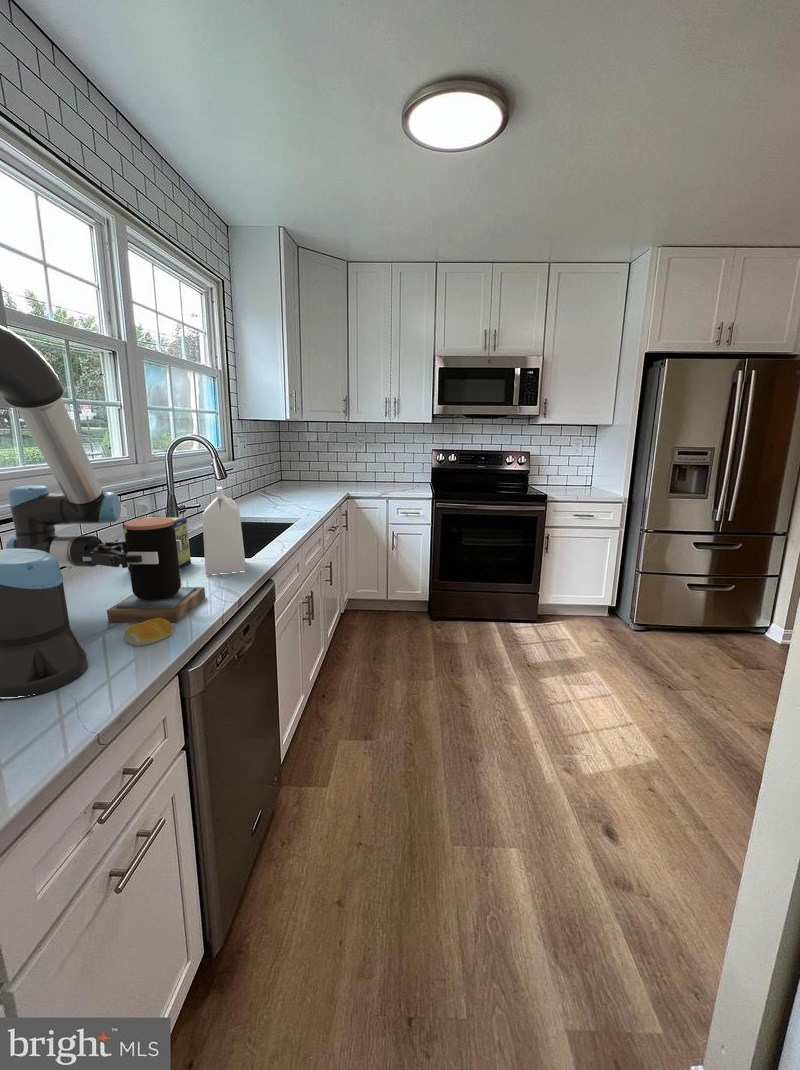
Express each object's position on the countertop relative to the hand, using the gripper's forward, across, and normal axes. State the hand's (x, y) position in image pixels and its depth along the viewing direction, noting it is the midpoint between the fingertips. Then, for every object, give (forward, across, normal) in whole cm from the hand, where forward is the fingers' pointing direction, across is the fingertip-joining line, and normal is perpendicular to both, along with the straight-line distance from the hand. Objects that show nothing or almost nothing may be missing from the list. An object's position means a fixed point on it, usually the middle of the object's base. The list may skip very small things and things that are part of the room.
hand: (169, 551), depth 112 cm
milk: (0, -34, -15) cm, 37 cm away
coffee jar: (-4, 0, -11) cm, 12 cm away
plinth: (-4, 0, -15) cm, 16 cm away
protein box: (-22, -35, -15) cm, 44 cm away
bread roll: (+1, +16, -16) cm, 22 cm away
